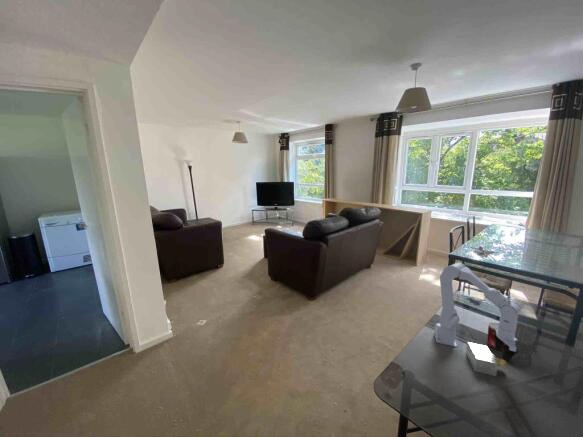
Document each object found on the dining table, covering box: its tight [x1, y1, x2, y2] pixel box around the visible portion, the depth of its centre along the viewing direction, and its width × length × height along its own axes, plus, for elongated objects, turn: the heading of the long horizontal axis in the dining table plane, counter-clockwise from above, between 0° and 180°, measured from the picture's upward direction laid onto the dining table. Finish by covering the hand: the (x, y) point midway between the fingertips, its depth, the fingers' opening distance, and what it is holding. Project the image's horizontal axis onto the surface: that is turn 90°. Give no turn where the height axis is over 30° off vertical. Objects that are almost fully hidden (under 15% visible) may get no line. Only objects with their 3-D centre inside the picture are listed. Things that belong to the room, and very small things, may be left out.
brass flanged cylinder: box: [492, 353, 507, 368], centre depth 110 cm, size 10×6×6 cm, turn 69°
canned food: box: [486, 322, 507, 351], centre depth 123 cm, size 8×8×11 cm
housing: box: [465, 341, 499, 377], centre depth 112 cm, size 8×12×6 cm, turn 159°
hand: (502, 354), depth 108 cm, fingers open, 7 cm apart
